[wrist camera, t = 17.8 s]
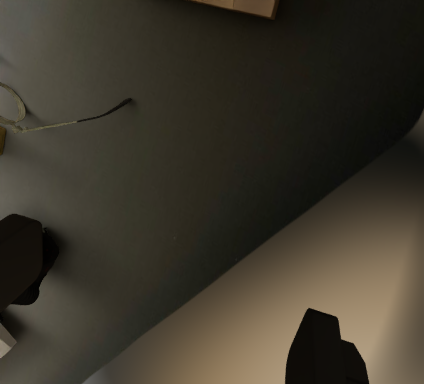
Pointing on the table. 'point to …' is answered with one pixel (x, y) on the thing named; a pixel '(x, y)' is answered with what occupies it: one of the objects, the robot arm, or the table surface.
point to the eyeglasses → (22, 115)
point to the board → (5, 341)
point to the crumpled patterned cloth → (48, 260)
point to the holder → (245, 6)
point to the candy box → (2, 138)
